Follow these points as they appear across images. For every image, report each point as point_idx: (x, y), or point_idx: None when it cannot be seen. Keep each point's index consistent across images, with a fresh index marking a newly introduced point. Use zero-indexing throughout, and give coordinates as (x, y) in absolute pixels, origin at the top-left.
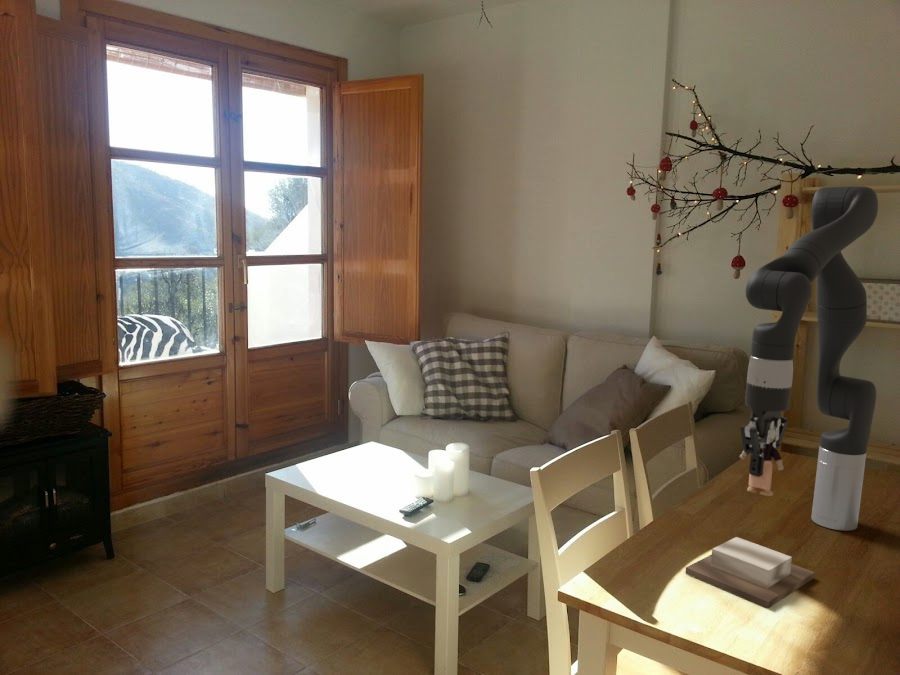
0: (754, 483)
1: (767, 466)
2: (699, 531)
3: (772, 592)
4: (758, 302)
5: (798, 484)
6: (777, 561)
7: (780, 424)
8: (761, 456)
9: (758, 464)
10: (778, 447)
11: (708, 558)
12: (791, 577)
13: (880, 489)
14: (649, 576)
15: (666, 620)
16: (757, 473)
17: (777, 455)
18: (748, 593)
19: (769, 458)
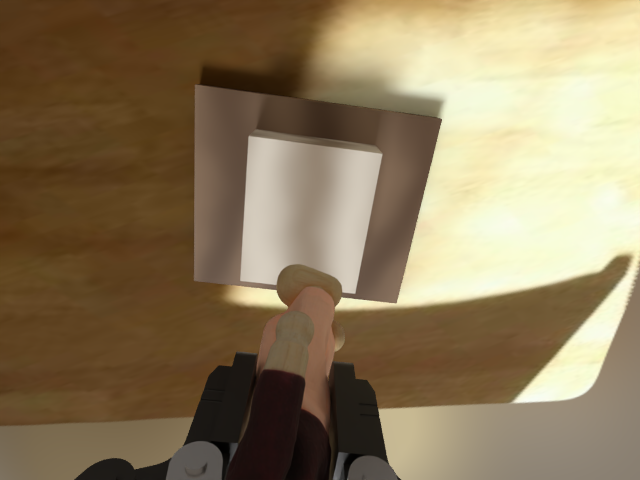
0: (333, 352)
1: (308, 384)
2: (178, 351)
3: (386, 128)
4: None
5: None
6: (308, 156)
7: None
8: (390, 468)
9: (372, 425)
10: (118, 466)
11: None
12: (273, 120)
13: None
14: (451, 334)
15: (606, 246)
16: (365, 382)
17: (293, 413)
18: (429, 167)
19: (308, 424)
